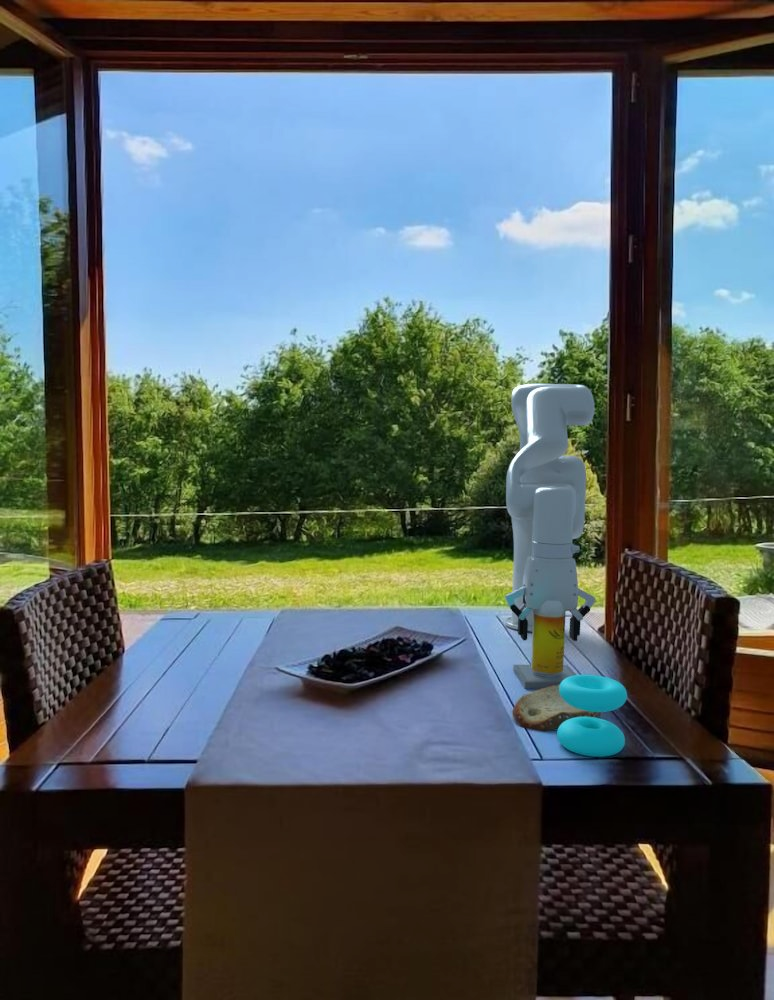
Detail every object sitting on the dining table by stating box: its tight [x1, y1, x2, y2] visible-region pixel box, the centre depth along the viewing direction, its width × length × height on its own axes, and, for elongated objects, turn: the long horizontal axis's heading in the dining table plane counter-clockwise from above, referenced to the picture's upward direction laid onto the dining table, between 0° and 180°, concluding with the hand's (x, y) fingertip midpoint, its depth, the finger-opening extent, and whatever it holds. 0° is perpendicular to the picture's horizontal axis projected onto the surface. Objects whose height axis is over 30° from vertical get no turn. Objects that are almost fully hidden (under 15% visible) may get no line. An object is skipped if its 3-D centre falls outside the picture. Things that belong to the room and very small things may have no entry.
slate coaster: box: [512, 664, 577, 690], centre depth 149 cm, size 11×11×1 cm
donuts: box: [556, 674, 628, 758], centre depth 117 cm, size 10×10×10 cm
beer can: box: [530, 599, 567, 677], centre depth 148 cm, size 6×6×15 cm
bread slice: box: [511, 684, 603, 732], centre depth 132 cm, size 18×18×4 cm
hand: (548, 638), depth 148 cm, fingers open, 9 cm apart
